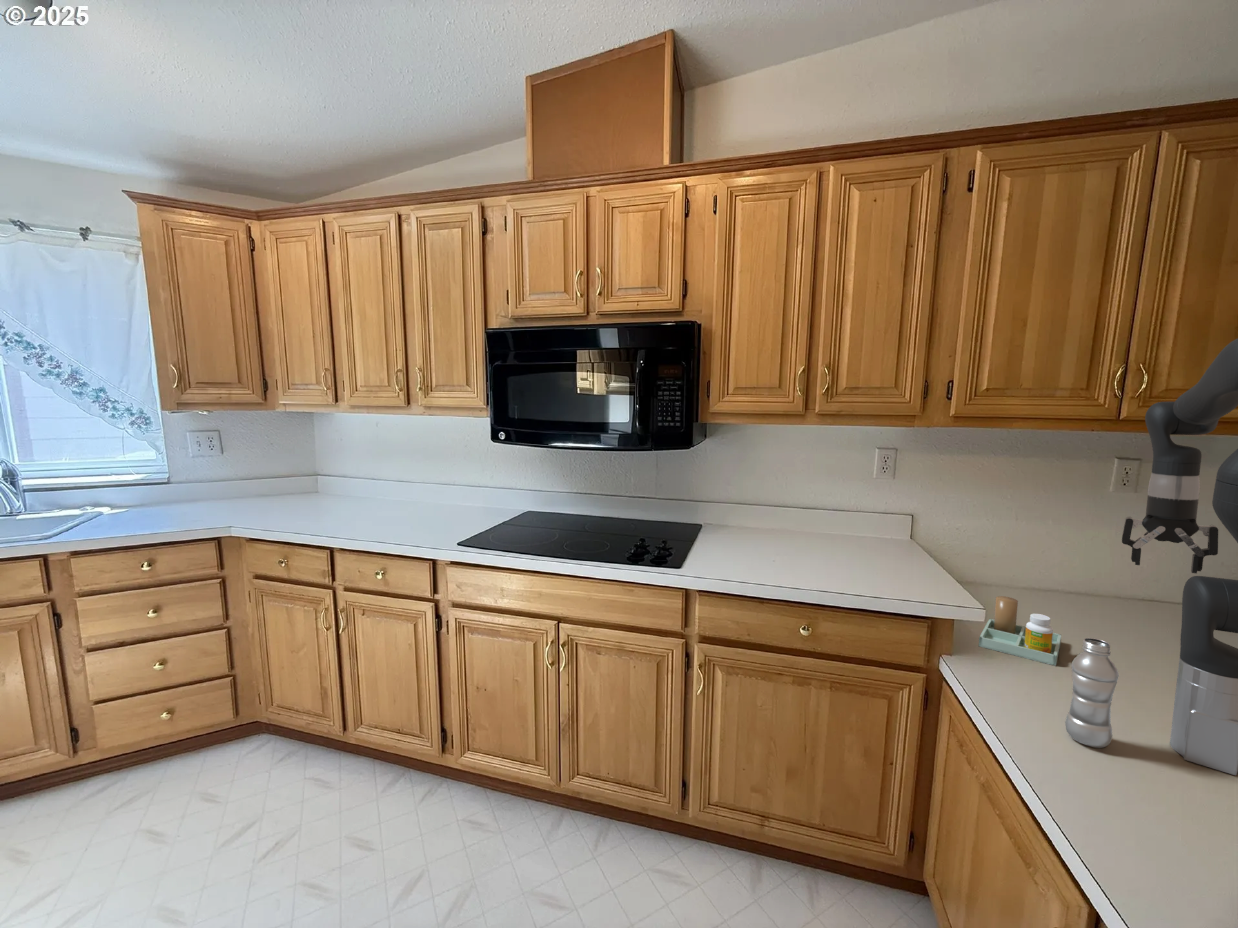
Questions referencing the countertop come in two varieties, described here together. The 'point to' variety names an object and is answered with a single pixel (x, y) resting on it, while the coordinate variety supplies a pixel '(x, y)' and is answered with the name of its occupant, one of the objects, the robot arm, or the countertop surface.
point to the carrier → (1017, 644)
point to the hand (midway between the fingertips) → (1164, 568)
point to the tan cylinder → (1005, 614)
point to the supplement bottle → (1039, 633)
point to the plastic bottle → (1092, 695)
